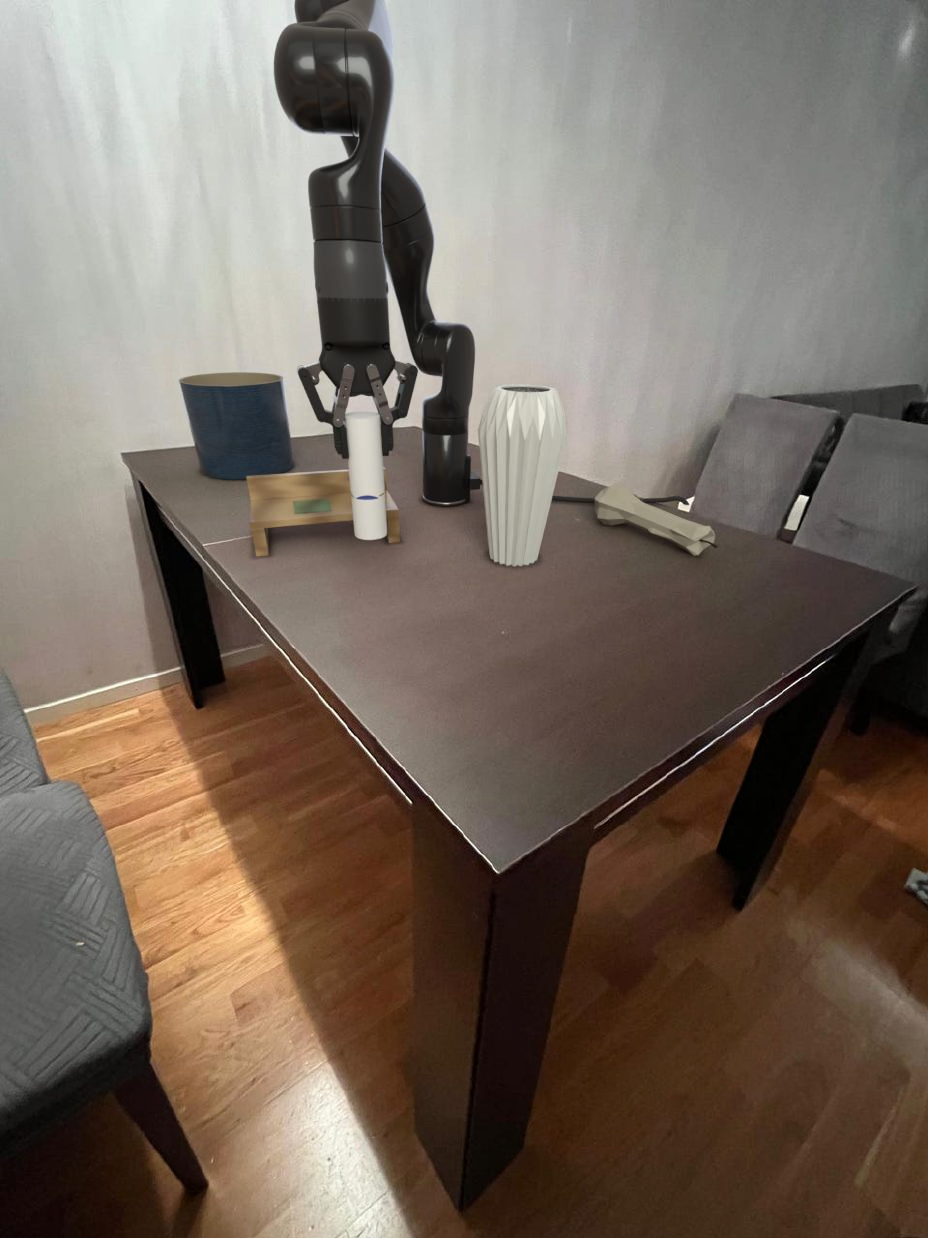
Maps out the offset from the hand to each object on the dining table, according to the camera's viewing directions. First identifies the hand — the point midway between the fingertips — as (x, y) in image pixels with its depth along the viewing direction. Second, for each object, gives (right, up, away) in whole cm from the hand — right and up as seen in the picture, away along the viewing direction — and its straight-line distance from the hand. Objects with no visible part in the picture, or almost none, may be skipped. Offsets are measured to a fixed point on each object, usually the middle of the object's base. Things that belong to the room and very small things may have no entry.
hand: (364, 455), depth 67 cm
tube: (0, -9, +5) cm, 10 cm away
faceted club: (+46, -6, +33) cm, 57 cm away
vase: (+21, -10, +25) cm, 34 cm away
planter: (-41, +17, +67) cm, 80 cm away
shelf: (-12, -5, +31) cm, 33 cm away
